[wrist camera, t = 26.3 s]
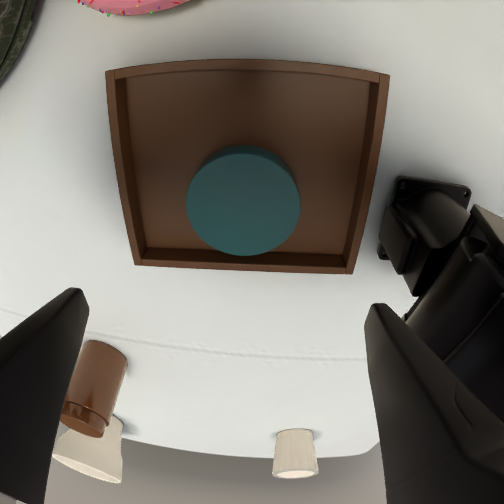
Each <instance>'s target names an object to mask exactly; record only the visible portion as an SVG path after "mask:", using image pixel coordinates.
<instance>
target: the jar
mask: <svg viewBox="0 0 504 504" xmlns="http://www.w3.org/2000/svg"><path fill="white" fill-rule="evenodd" d="M127 366H128V362H127V360H126V358H125V357H124V355H123V354H122V353H121V352H119V351H118V350H117V349H115V348H114V347H112V346H110V345H108V344H106V343H103V342H99V341H87V342H85V343H84V344H83V346H82V349H81V351H80V353H79V356H78V359H77V362H76V365H75V368H74V372H73V375H72V378H71V381H70V385H69V388H68V392H67V395H66V399H65V402H64V406H63V410H62V413H61V417H60V421H61V422H62V423H63V424H65V425H66V426H68V427H69V428H71V429H73V430H75V431H77V432H79V433H81V434H84V435H86V436H90V437H94V438H102V437H103V434H104V431H105V428H106V427H107V426H109V424H110V421H111V417H112V414H113V410H114V407H115V404H116V401H117V397H118V394H119V391H120V388H121V385H122V382H123V379H124V375H125V372H126V369H127Z"/></svg>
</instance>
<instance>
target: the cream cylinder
mask: <svg viewBox="0 0 504 504" xmlns="http://www.w3.org/2000/svg"><path fill="white" fill-rule="evenodd" d="M317 473H318V466H317V459H316V453H315V447H314V441H313V435H312V432H311V431H309V430H306V429H289V430H284V431H282V432H279V433H278V434H277V436H276V445H275V454H274V463H273V471H272V475H273V476H274V477H277V478H290V479H291V478H292V479H293V478H304V477H309V476H313V475H316V474H317Z"/></svg>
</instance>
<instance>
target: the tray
mask: <svg viewBox="0 0 504 504" xmlns="http://www.w3.org/2000/svg"><path fill="white" fill-rule="evenodd" d="M105 76H106V91H107V103H108V114H109V123H110V132H111V140H112V148H113V155H114V162H115V169H116V175H117V181H118V187H119V193H120V199H121V204H122V209H123V214H124V219H125V224H126V229H127V234H128V238H129V243H130V247H131V252H132V256H133V260H134V264H135V265H139V266H142V265H143V266H157V267H176V268H195V269H216V270H238V271H263V272H289V273H319V274H353V271H354V267H355V263H356V260H357V256H358V252H359V248H360V244H361V240H362V236H363V231H364V227H365V223H366V219H367V214H368V210H369V205H370V200H371V195H372V191H373V186H374V181H375V175H376V170H377V165H378V159H379V153H380V147H381V141H382V135H383V128H384V121H385V114H386V106H387V98H388V90H389V81H390V75H387V74H383V73H378V72H372V71H367V70H361V69H356V68H349V67H343V66H336V65H328V64H320V63H310V62H300V61H286V60H268V59H207V60H188V61H175V62H165V63H155V64H147V65H140V66H133V67H126V68H120V69H114V70H109V71H106V72H105ZM235 145H251V146H257V147H261V148H264V149H266V150H269V151H270V152H272V153H274V154H276V155H277V156H278V157H280V158H281V159H282V160H283V161H284V162H285V163H286V164H287V165H288V167H289V168H290V169H291V171H292V173H293V175H294V177H295V180H296V183H297V188H298V192H299V196H300V204H301V211H300V216H299V220H298V222H297V225H296V227H295V229H294V231H293V232H292V233H291V235H290V236H289V237H288V238H287V239H286V240H285V241H284V242H283V243H282V244H280V245H279V246H277V247H276V248H274V249H272V250H270V251H268V252H265V253H262V254H257V255H250V256H239V255H232V254H228V253H225V252H222V251H219V250H217V249H215V248H213V247H212V246H210V245H208V244H207V243H206V242H205V241H203V240H202V239H201V238H200V237H199V236H198V235H197V233H196V232H195V231H194V229H193V227H192V226H191V224H190V222H189V219H188V216H187V212H186V194H187V190H188V187H189V185H190V183H191V181H192V179H193V177H194V175H195V173H196V172H197V170H198V168H199V167H200V165H201V164H202V163H203V162H204V161H205V160H206V159H207V158H208V157H209V156H211V155H212V154H213V153H215V152H217V151H219V150H221V149H223V148H226V147H230V146H235Z"/></svg>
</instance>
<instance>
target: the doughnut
mask: <svg viewBox="0 0 504 504" xmlns="http://www.w3.org/2000/svg"><path fill="white" fill-rule="evenodd" d="M80 1H81V2H82V5H84V4H85V5H87V7H91V8H93V9H95V10H98V11H100V12H102V13H108V15H107V16H109V15H110V14H114V15H121V16H123V15H138V14H146V13H150V14H152V12H157V11H161V10H165V9H169V8H172V7H175V6H177V5H180V4H182V3H185V2H187V1H189V0H78V3H80Z"/></svg>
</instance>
